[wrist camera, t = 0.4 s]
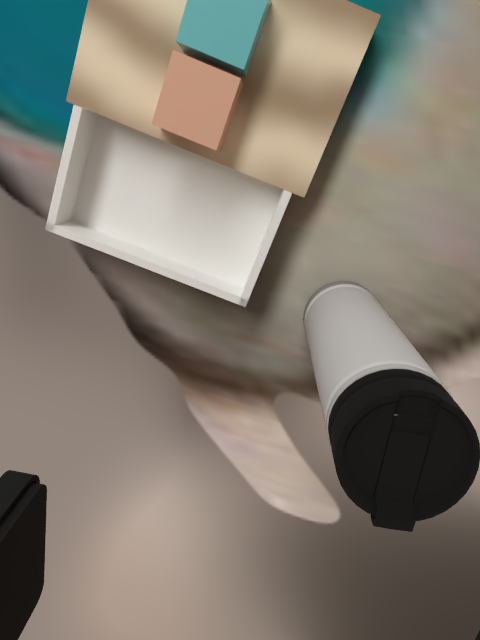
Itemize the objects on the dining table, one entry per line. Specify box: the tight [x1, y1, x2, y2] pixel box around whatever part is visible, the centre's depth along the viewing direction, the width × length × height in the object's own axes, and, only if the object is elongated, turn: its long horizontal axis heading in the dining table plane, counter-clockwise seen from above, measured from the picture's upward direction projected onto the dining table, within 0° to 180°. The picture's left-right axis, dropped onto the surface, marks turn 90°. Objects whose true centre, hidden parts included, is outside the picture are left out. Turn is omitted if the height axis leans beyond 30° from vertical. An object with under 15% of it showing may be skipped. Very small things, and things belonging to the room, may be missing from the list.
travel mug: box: [303, 281, 480, 532], centre depth 28 cm, size 6×7×20 cm
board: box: [66, 0, 381, 198], centre depth 31 cm, size 12×18×2 cm, turn 69°
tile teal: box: [176, 0, 272, 77], centre depth 28 cm, size 4×4×2 cm
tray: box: [45, 105, 292, 307], centre depth 34 cm, size 9×16×4 cm, turn 69°
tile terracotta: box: [152, 50, 243, 152], centre depth 29 cm, size 4×4×2 cm
